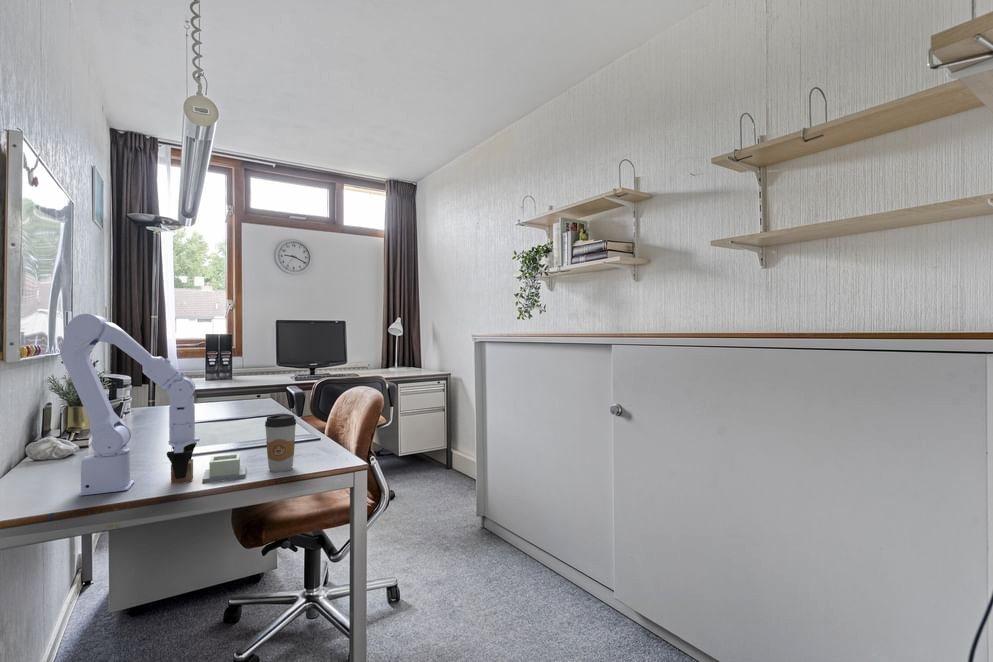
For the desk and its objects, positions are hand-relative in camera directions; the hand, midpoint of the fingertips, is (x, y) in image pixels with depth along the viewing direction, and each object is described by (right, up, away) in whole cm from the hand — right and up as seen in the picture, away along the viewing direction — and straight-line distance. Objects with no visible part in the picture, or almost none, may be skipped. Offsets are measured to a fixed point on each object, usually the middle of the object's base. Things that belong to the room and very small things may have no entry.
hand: (182, 474), depth 131 cm
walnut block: (0, -2, 0) cm, 2 cm away
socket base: (+9, -2, +4) cm, 10 cm away
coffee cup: (+21, -2, +11) cm, 24 cm away
